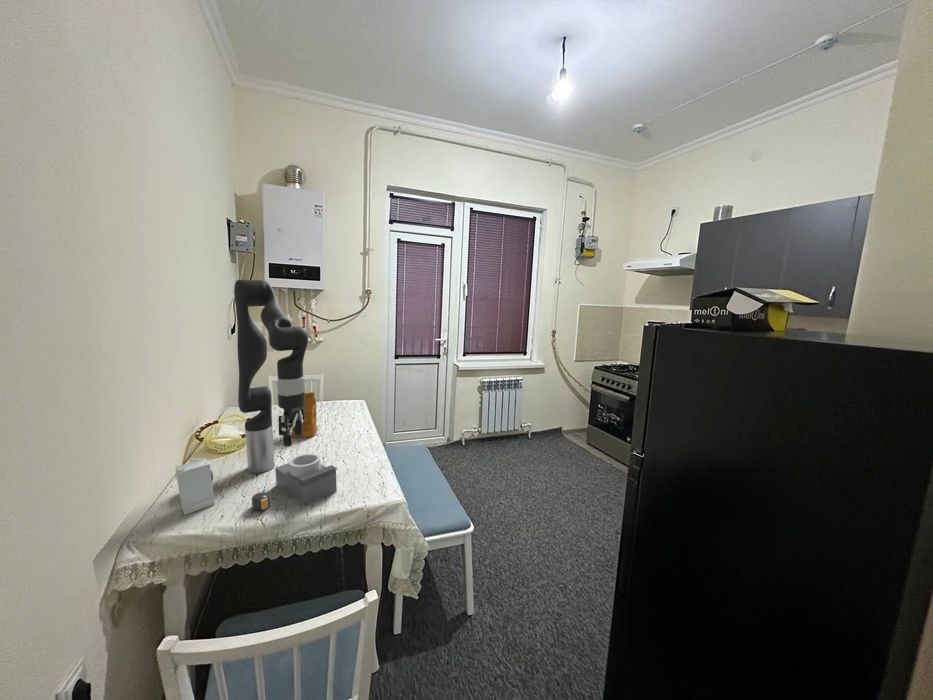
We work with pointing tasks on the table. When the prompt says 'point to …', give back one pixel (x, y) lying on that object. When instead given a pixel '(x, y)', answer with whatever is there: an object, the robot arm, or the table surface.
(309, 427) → the coffee package
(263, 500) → the grey dome
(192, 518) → the table surface
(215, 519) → the table surface
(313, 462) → the camera body
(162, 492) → the table surface
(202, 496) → the skincare box
